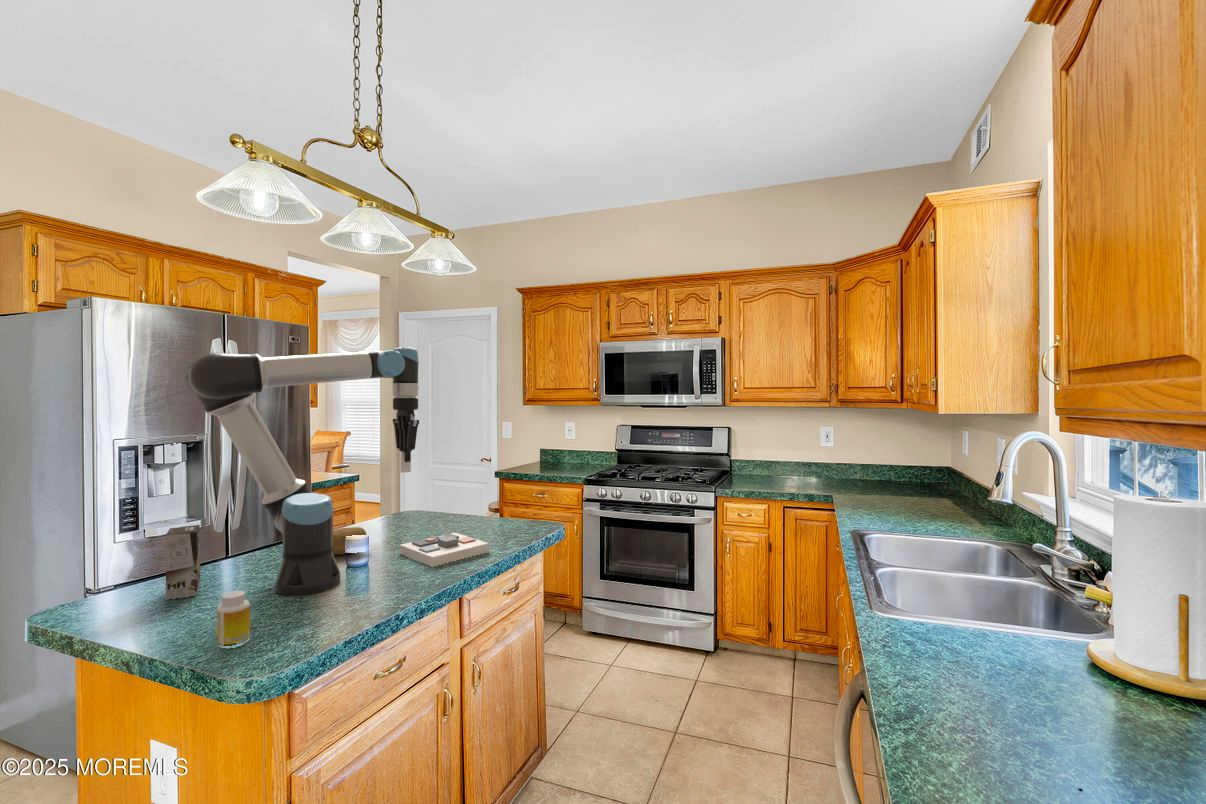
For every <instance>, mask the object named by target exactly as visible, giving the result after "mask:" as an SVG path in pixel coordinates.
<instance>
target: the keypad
mask: <svg viewBox="0 0 1206 804" xmlns="http://www.w3.org/2000/svg"><path fill="white" fill-rule="evenodd" d="M449 536H451V537H455V538H458V539H461V538H465V537H468V535H464V534H460V533H457V532H451V533H447V534H442V535H438V536H434V537H433V536H432V537H428V538H424V539H420V540H414V541H411V542H406V543H402V544H399V555H400V554H401V555H400V556H403V555H404V556H403V557H405V556H406V557H405V558H408V557H409V558H408V559H410V558H411V559H410V560H413V559H414V560H413V561H415V560H416V562H418V561H419V562H418V563H420V562H421V563H420V564H423V563H424V564H423V565H425V564H426V565H425V566H428V565H429V566H428V567H430V566H432V567H431V568H435V567H434V566H436V567H438V566H437V565H440V566H442V565H441V564H444V563H447V564H449V563H448V562H451V563H453V562H452V561H455V562H457V561H456V560H459V561H461V560H460V559H463V560H465V559H464V558H466V559H469V558H468V557H470V558H473V557H472V556H474V557H477V556H476V555H478V556H481V555H485V554H488V552H489V553H490V543H489V542H487V541H483V540H480V539H476V538H473V537H472V536H471V537H470V536H469V537H470V538H473V539H476V541H474V542H470V543H466V544H462V543H459V542H458V546H453V547H449V548H443V547H440V546H438V539H440V538H444V537H449ZM430 545H433V546H436V547H439V548H440V550H437V551H433V552H429V553H425V552H422V551H420V550H419V548H422V547H426V546H430ZM484 553H485V554H484ZM480 554H481V555H480ZM444 565H445V564H444Z"/></svg>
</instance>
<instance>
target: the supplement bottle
mask: <svg viewBox="0 0 1206 804" xmlns="http://www.w3.org/2000/svg"><path fill="white" fill-rule="evenodd" d="M220 602H221V604H219V605H218V606H217V608H216V640H217V641H216V644H218V645H220V646H232V645H237V644H240V643H243V642H245V641H247V640H248V639H249V638H250V639H251V606H250V605H251V604H250V601H249V600H247V599H246V592H245V591H244V590H233V591H230V592H225V593H223V594H222V595H221V601H220Z"/></svg>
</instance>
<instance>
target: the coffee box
mask: <svg viewBox="0 0 1206 804" xmlns="http://www.w3.org/2000/svg"><path fill="white" fill-rule="evenodd" d="M200 525H201V524H195V525H186V526H179V527H171V528H169V529H168V531H167V532H166V534H165V601H170V600H169V599H172V600H176V598H178V599H184V598H183V597H185V598H191V597H190V596H193V597H196V595H198V592H199V589H200V587H201V556H200V555H201V541H200V540H201V536H200V535H201V534H200V531H201V530H200Z"/></svg>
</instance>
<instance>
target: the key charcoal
mask: <svg viewBox="0 0 1206 804" xmlns="http://www.w3.org/2000/svg"><path fill="white" fill-rule="evenodd" d="M438 546H440V547H443V548H449V547H453V546H458V538H455V537H451V536H449V537H444V538H440V539H438Z"/></svg>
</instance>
